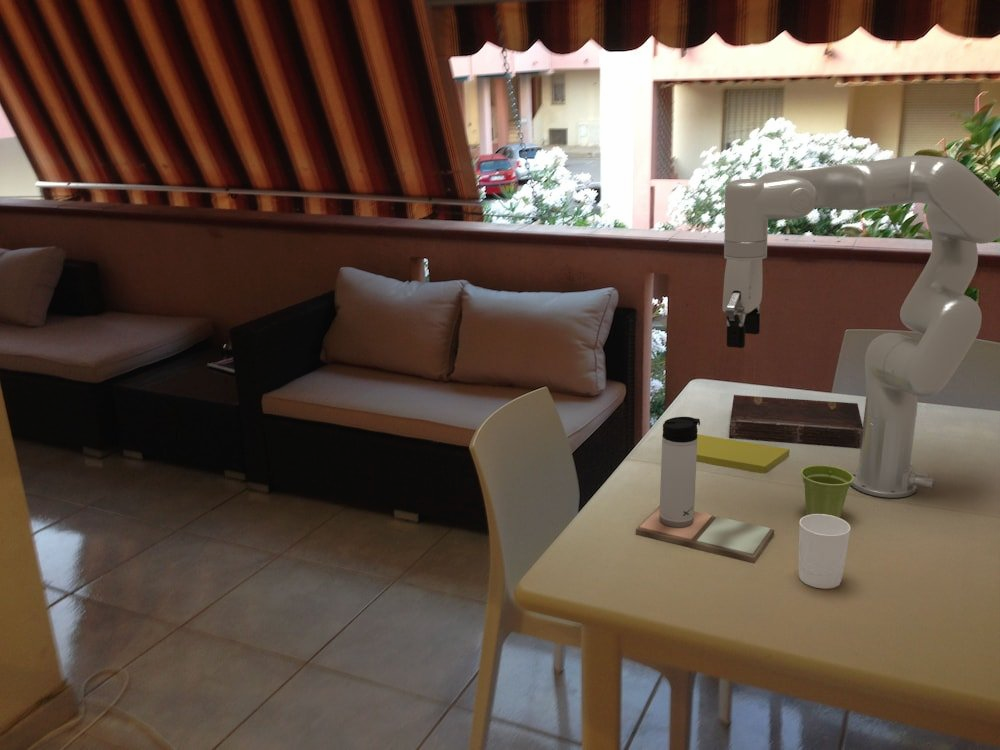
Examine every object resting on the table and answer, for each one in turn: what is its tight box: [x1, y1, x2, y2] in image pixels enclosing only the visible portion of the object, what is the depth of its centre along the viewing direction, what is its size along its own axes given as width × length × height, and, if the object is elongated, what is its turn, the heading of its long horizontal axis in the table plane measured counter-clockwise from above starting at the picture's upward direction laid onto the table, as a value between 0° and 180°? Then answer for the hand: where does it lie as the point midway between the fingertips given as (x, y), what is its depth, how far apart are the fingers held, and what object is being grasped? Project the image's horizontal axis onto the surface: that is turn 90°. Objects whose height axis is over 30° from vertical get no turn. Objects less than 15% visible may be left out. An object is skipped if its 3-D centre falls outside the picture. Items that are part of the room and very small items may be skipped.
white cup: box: [798, 514, 852, 590], centre depth 153 cm, size 8×8×10 cm
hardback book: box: [728, 394, 863, 450], centre depth 220 cm, size 29×19×5 cm, turn 74°
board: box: [635, 505, 775, 564], centre depth 170 cm, size 22×12×1 cm, turn 59°
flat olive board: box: [696, 433, 791, 475], centre depth 206 cm, size 12×2×24 cm
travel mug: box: [659, 416, 701, 527], centre depth 170 cm, size 6×7×20 cm
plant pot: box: [800, 464, 854, 518], centre depth 175 cm, size 9×9×9 cm
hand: (743, 340), depth 174 cm, fingers open, 9 cm apart
